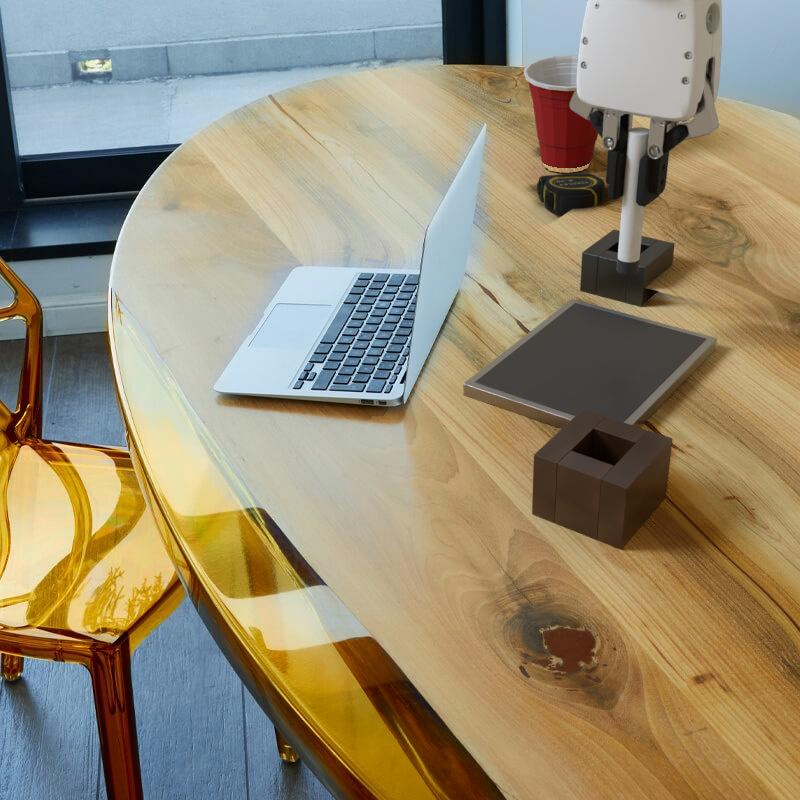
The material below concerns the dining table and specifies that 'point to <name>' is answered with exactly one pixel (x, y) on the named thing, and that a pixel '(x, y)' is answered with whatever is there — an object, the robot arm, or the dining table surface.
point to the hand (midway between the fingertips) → (634, 196)
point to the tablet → (591, 366)
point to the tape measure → (570, 192)
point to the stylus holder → (626, 288)
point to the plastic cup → (559, 113)
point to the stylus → (631, 205)
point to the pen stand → (601, 477)
